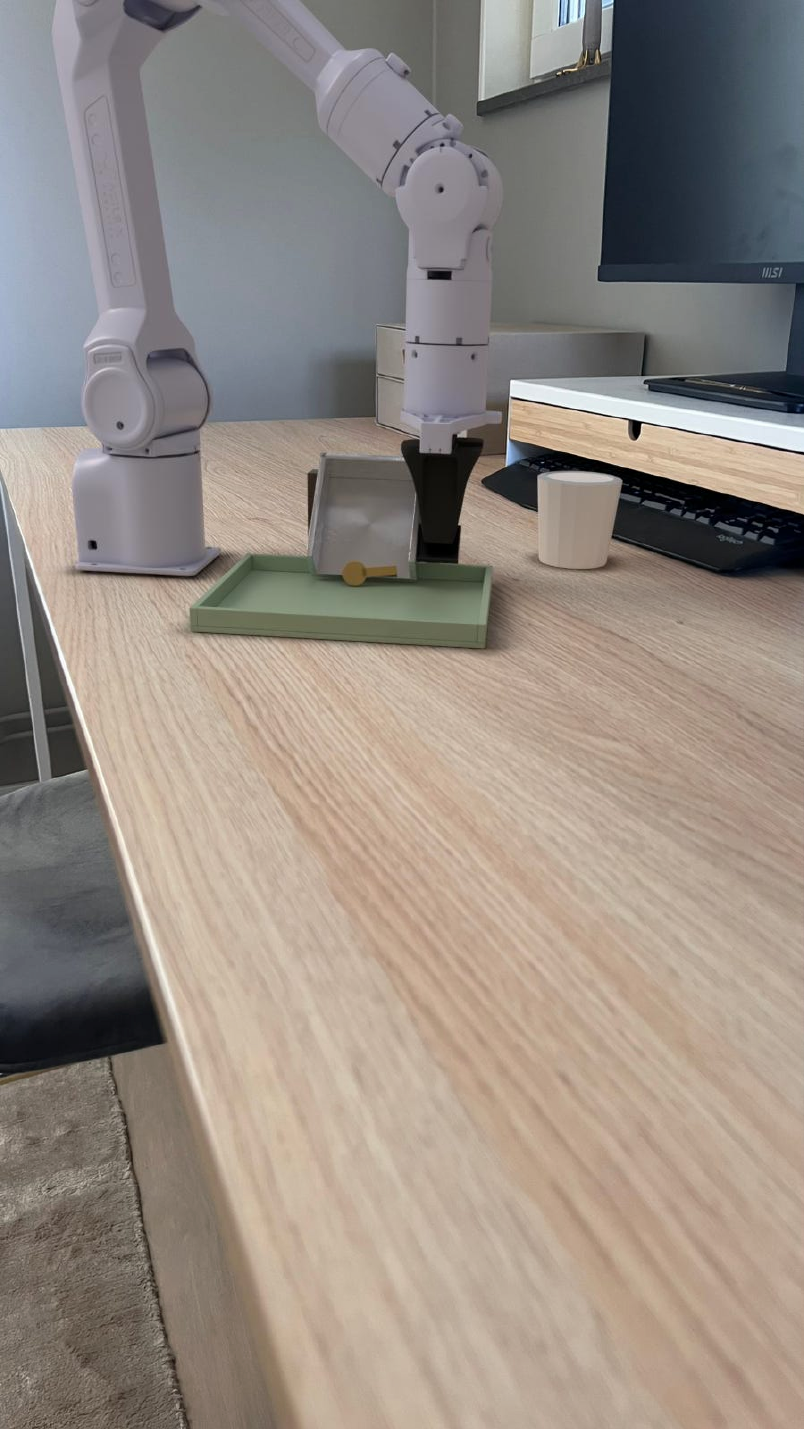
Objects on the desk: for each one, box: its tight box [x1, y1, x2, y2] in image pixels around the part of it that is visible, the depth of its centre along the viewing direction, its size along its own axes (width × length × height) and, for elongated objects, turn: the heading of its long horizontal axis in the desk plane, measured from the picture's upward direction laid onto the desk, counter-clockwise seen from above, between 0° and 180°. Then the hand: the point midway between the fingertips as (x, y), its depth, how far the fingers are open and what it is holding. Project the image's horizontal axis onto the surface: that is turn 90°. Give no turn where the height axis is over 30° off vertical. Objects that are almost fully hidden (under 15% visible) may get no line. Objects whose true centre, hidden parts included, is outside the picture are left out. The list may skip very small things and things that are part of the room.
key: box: [342, 561, 397, 586], centre depth 76 cm, size 4×2×1 cm
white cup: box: [537, 470, 623, 570], centre depth 86 cm, size 7×7×7 cm
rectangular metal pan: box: [305, 452, 462, 582], centre depth 77 cm, size 11×9×3 cm
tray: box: [188, 552, 494, 650], centre depth 72 cm, size 19×15×2 cm
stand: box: [307, 468, 429, 563], centre depth 81 cm, size 10×2×8 cm, turn 84°
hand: (439, 541), depth 75 cm, fingers closed
